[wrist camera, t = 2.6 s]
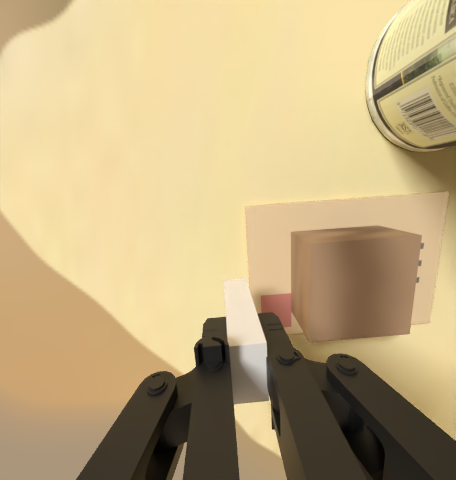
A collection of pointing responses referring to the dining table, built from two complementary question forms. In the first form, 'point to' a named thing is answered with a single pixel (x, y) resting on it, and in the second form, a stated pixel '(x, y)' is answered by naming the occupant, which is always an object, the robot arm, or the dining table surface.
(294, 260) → the walnut block
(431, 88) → the coffee can
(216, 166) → the dining table surface
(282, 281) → the letter
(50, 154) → the dining table surface
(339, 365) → the robot arm
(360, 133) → the dining table surface
